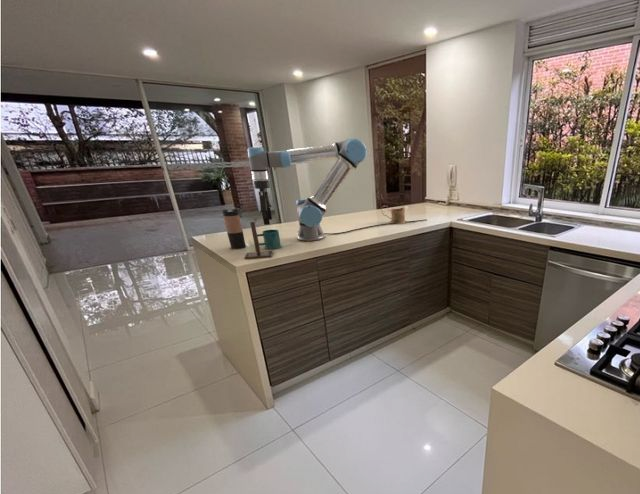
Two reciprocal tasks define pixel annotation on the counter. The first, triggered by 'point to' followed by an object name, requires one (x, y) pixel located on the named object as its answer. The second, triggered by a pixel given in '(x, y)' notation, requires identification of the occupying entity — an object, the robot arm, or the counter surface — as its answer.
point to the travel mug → (234, 228)
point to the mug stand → (257, 245)
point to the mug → (397, 215)
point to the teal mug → (270, 239)
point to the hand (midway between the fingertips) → (268, 222)
